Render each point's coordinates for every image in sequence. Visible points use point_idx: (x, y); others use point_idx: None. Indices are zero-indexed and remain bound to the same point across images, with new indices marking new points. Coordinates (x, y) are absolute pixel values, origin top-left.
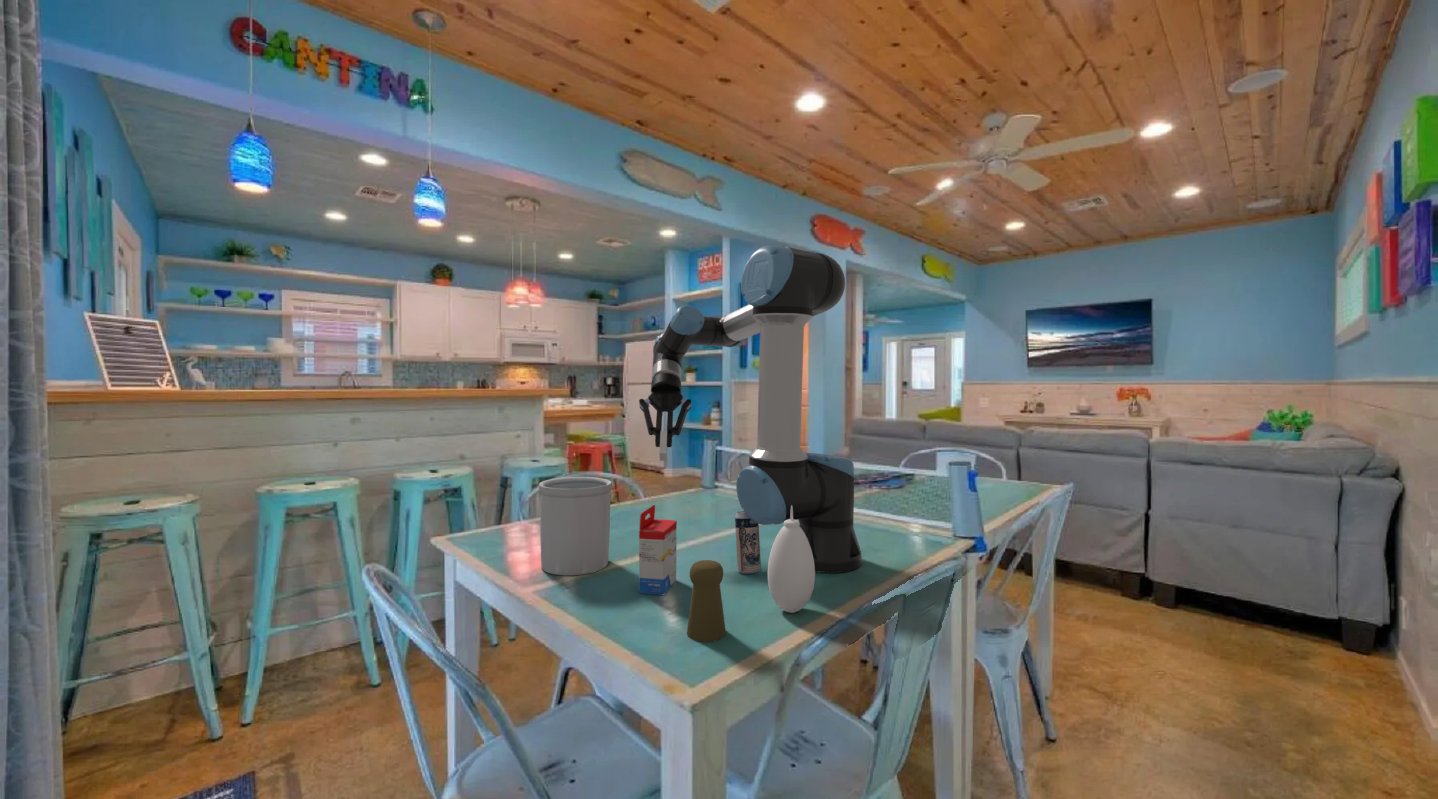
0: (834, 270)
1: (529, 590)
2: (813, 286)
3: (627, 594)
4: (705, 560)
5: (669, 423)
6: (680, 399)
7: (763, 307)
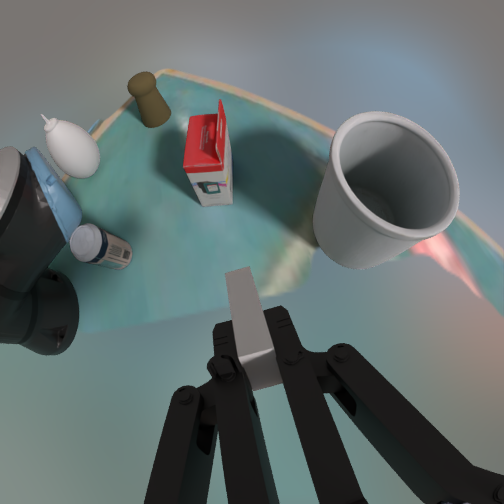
0: None
1: None
2: None
3: (245, 156)
4: (139, 80)
5: (234, 410)
6: None
7: None
